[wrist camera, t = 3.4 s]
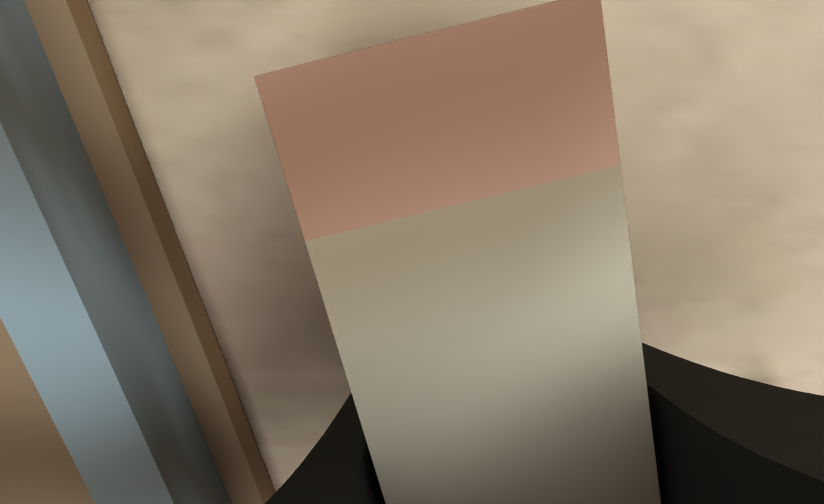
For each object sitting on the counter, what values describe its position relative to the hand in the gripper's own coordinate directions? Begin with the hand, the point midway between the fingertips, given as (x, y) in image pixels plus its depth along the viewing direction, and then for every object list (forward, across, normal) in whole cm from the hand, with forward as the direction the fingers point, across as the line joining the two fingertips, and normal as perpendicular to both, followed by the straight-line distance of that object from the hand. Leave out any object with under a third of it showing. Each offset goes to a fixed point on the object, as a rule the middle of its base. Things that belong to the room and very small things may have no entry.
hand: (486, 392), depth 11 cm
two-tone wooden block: (+1, 0, 0) cm, 1 cm away
